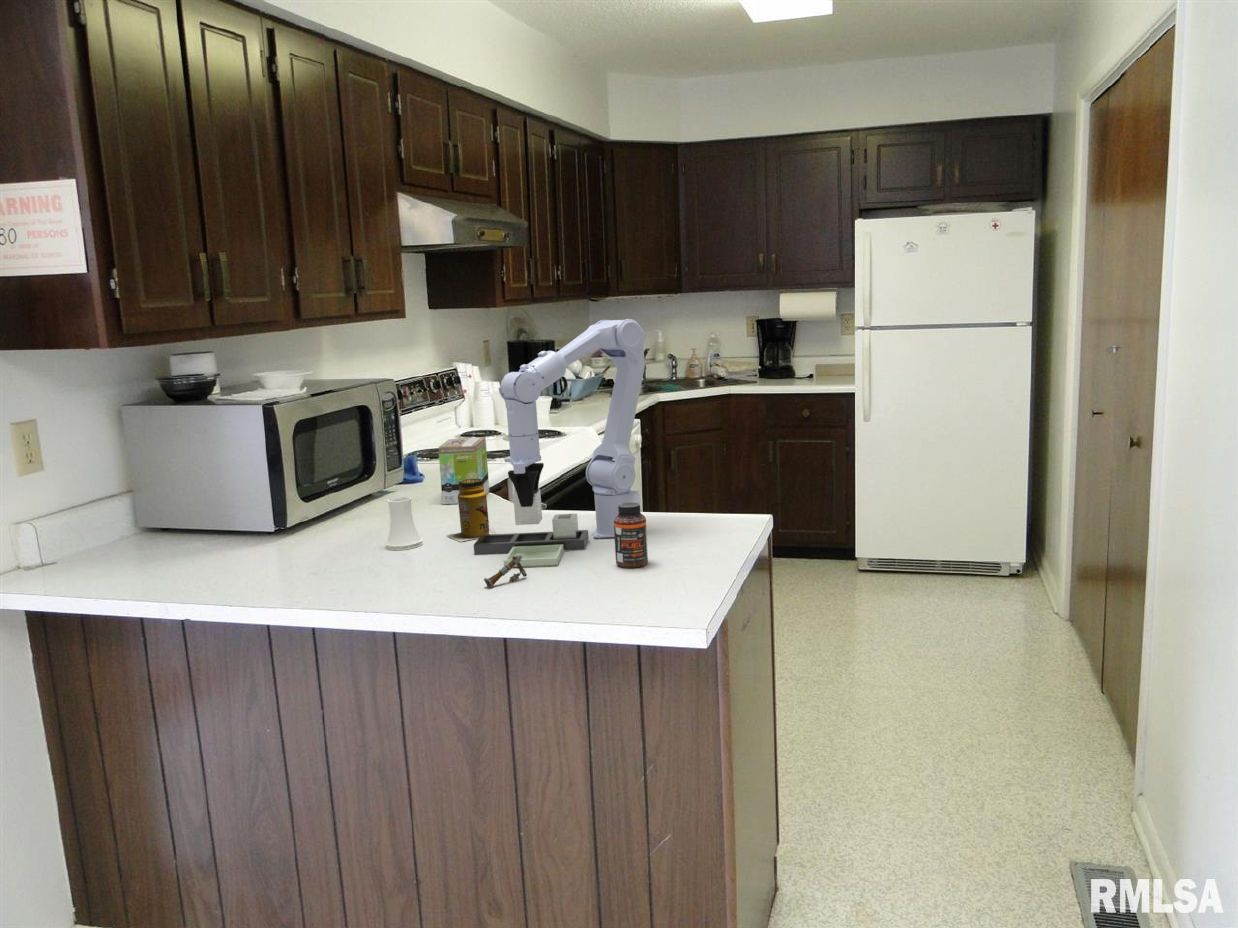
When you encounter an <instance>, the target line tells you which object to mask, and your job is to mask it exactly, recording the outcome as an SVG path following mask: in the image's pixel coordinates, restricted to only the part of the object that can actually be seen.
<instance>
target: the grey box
mask: <svg viewBox="0 0 1238 928" xmlns="http://www.w3.org/2000/svg"><path fill="white" fill-rule="evenodd" d="M541 494H542V493H541V488H538V489H534V495H533V504H532V507H521V505H520V502H519V499H518V495H517V492H516V491H515V492H514V493H513V495H512V498H513V510H514V521H515V526H523V525H524V526H525V525H527V526H528V525H529V526H530V525H539V524H540V522H542V520H543V510H542V498H541Z"/></svg>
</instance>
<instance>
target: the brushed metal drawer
mask: <svg viewBox="0 0 1238 928" xmlns="http://www.w3.org/2000/svg"><path fill="white" fill-rule="evenodd" d="M578 520H579V519H578V513H563V514H562V513H560V514H554V516H553V517H552V519H551V522H552V532H553V537H554V540H563V539H579V532H578V530H579V522H578Z"/></svg>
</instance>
